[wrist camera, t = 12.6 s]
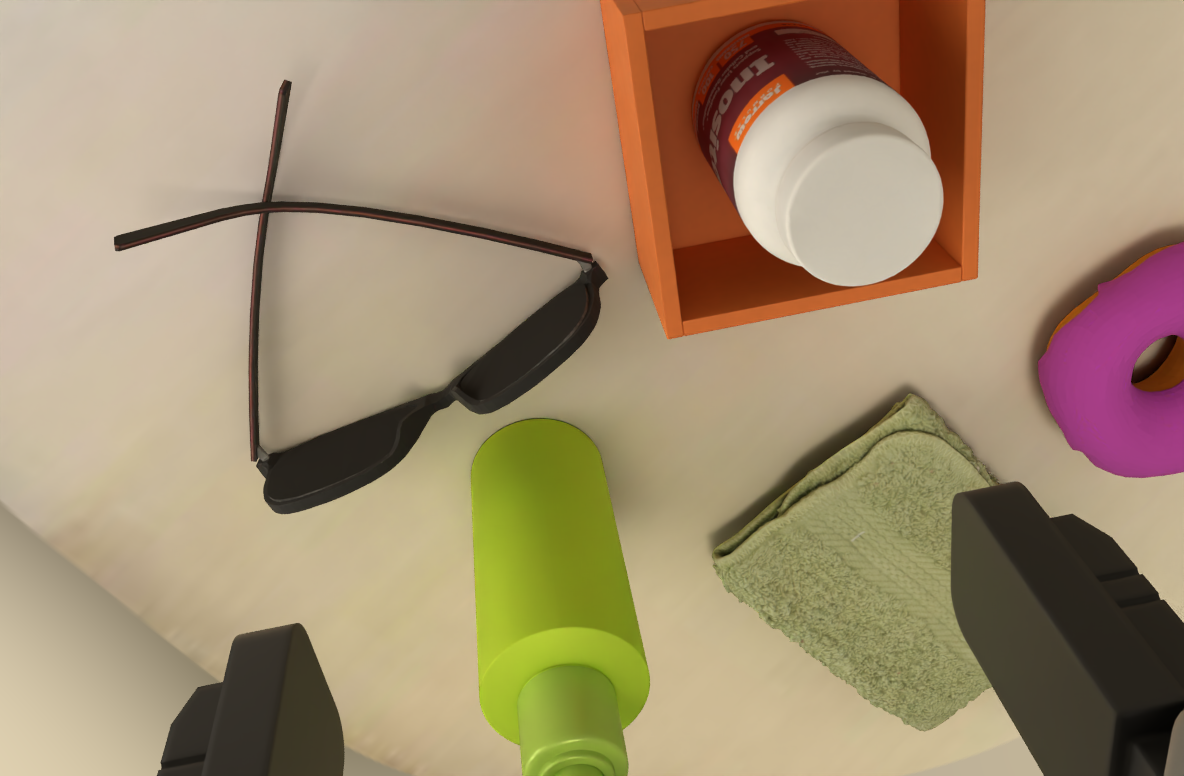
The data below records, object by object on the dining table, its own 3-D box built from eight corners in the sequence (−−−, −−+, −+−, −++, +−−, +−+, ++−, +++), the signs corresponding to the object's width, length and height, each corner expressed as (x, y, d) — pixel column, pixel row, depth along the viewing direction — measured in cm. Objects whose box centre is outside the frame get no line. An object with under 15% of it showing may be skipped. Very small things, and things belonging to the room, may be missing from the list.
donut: (1200, 186, 45) (1272, 228, 42) (1285, 346, 50) (1357, 397, 46) (987, 336, 48) (1035, 390, 44) (1086, 475, 53) (1138, 534, 49)
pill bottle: (710, 2, 39) (795, 87, 29) (872, 32, 40) (1004, 122, 31) (670, 170, 42) (736, 296, 32) (822, 193, 43) (929, 321, 34)
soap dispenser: (598, 542, 51) (677, 945, 34) (454, 512, 49) (461, 922, 32) (643, 440, 49) (753, 820, 31) (492, 404, 47) (522, 788, 30)
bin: (908, -84, 39) (987, -55, 33) (910, 210, 44) (978, 278, 39) (596, -25, 38) (622, 15, 33) (638, 263, 44) (667, 340, 39)
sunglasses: (413, -26, 38) (410, 4, 33) (620, 291, 45) (639, 349, 41) (37, 225, 41) (-11, 283, 36) (287, 486, 48) (272, 560, 43)
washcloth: (902, 368, 48) (930, 406, 46) (1102, 570, 56) (1137, 613, 53) (684, 549, 52) (697, 594, 49) (899, 715, 60) (921, 762, 57)
